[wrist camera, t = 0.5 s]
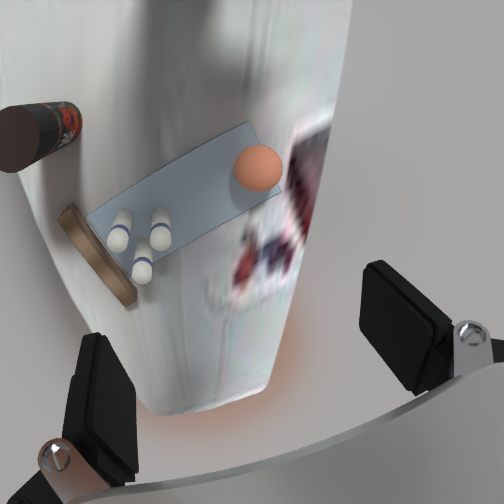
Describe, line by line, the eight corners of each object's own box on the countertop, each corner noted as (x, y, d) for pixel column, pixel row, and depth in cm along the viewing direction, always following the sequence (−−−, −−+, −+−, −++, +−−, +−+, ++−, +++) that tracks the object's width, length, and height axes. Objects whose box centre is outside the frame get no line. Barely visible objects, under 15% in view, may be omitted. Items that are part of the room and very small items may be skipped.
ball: (222, 155, 41) (231, 163, 35) (262, 134, 41) (277, 140, 35) (242, 192, 44) (253, 206, 38) (280, 172, 44) (296, 183, 38)
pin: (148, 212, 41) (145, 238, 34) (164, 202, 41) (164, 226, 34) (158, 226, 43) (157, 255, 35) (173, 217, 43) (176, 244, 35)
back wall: (63, 211, 38) (56, 219, 35) (73, 203, 38) (67, 211, 35) (126, 295, 46) (125, 307, 44) (137, 289, 46) (136, 301, 44)
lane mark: (86, 216, 39) (85, 217, 39) (248, 121, 39) (248, 121, 39) (130, 276, 45) (130, 276, 45) (281, 191, 45) (281, 191, 45)
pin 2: (132, 242, 43) (127, 273, 35) (147, 233, 43) (144, 262, 35) (142, 255, 44) (139, 288, 37) (156, 247, 44) (156, 278, 37)
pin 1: (112, 213, 40) (102, 239, 33) (127, 204, 40) (119, 228, 33) (122, 228, 41) (114, 256, 34) (137, 218, 41) (132, 246, 34)
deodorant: (45, 99, 31) (-10, 104, 18) (86, 103, 33) (44, 107, 20) (38, 144, 33) (-17, 170, 20) (77, 148, 35) (35, 176, 22)
